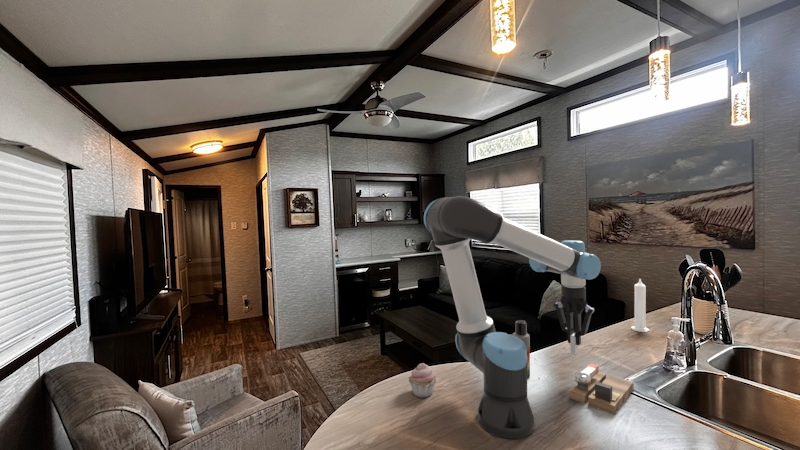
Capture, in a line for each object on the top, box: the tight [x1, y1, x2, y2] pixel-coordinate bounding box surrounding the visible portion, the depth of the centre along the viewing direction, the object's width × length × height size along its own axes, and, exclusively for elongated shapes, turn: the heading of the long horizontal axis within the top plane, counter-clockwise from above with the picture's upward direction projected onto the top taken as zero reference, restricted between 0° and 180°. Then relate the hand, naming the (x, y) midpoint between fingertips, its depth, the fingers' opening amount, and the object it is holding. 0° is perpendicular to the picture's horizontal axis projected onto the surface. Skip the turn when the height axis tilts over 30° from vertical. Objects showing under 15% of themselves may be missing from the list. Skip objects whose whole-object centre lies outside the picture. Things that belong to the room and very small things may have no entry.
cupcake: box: [408, 362, 438, 399], centre depth 113 cm, size 9×9×10 cm
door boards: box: [568, 371, 635, 415], centre depth 110 cm, size 20×12×6 cm, turn 133°
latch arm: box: [574, 363, 600, 385], centre depth 112 cm, size 13×4×2 cm, turn 133°
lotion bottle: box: [512, 319, 531, 380], centre depth 123 cm, size 6×6×20 cm
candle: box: [631, 278, 650, 333], centre depth 167 cm, size 7×7×25 cm
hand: (574, 353), depth 119 cm, fingers closed
